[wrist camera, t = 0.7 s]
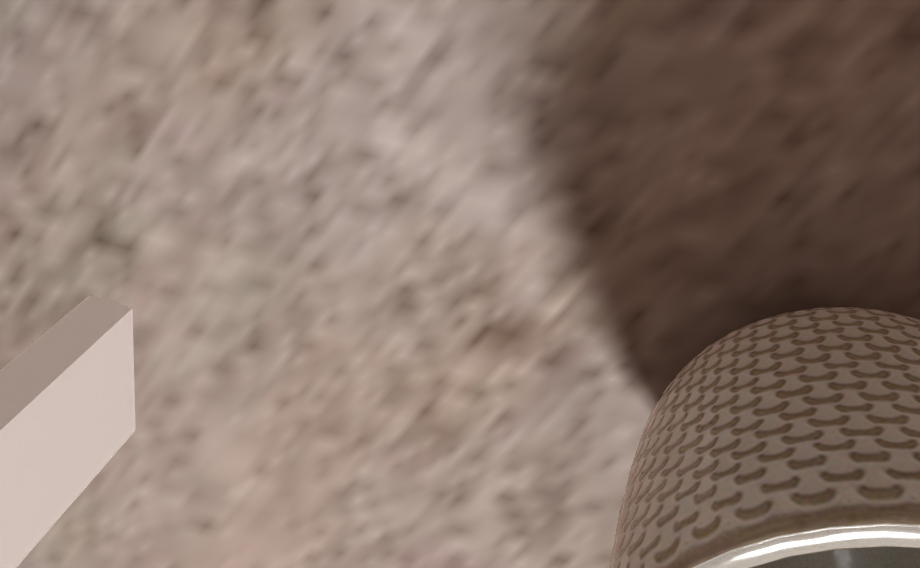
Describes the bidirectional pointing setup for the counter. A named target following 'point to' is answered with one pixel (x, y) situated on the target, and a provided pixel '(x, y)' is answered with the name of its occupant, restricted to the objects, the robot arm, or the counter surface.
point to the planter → (784, 450)
